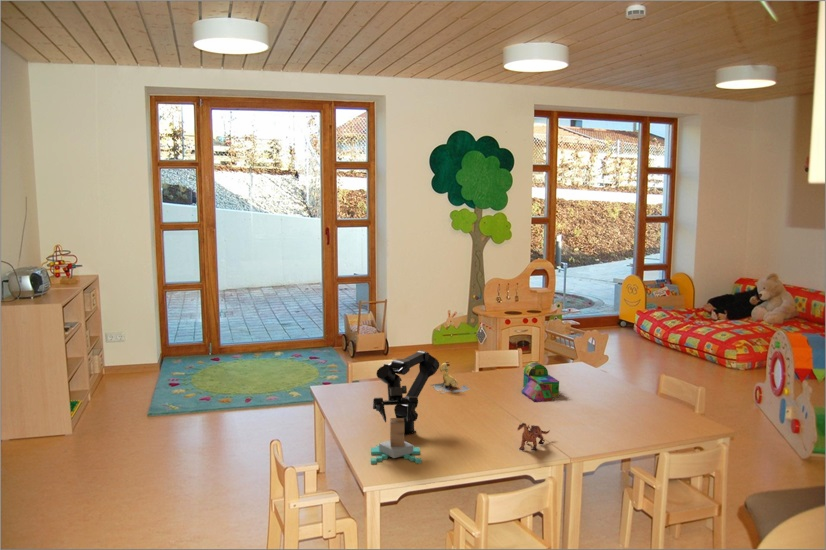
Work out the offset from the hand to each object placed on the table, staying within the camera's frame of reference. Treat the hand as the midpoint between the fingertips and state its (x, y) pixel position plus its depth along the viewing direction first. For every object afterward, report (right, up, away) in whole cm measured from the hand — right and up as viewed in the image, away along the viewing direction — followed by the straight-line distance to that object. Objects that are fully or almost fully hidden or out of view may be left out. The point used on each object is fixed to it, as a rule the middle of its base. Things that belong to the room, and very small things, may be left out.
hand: (396, 421), depth 272 cm
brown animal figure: (+57, -13, +7) cm, 58 cm away
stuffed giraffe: (+27, -2, +88) cm, 93 cm away
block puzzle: (+74, -3, +81) cm, 110 cm away
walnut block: (0, -9, -2) cm, 9 cm away
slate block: (0, -12, -2) cm, 12 cm away
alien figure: (-1, -14, -1) cm, 14 cm away
